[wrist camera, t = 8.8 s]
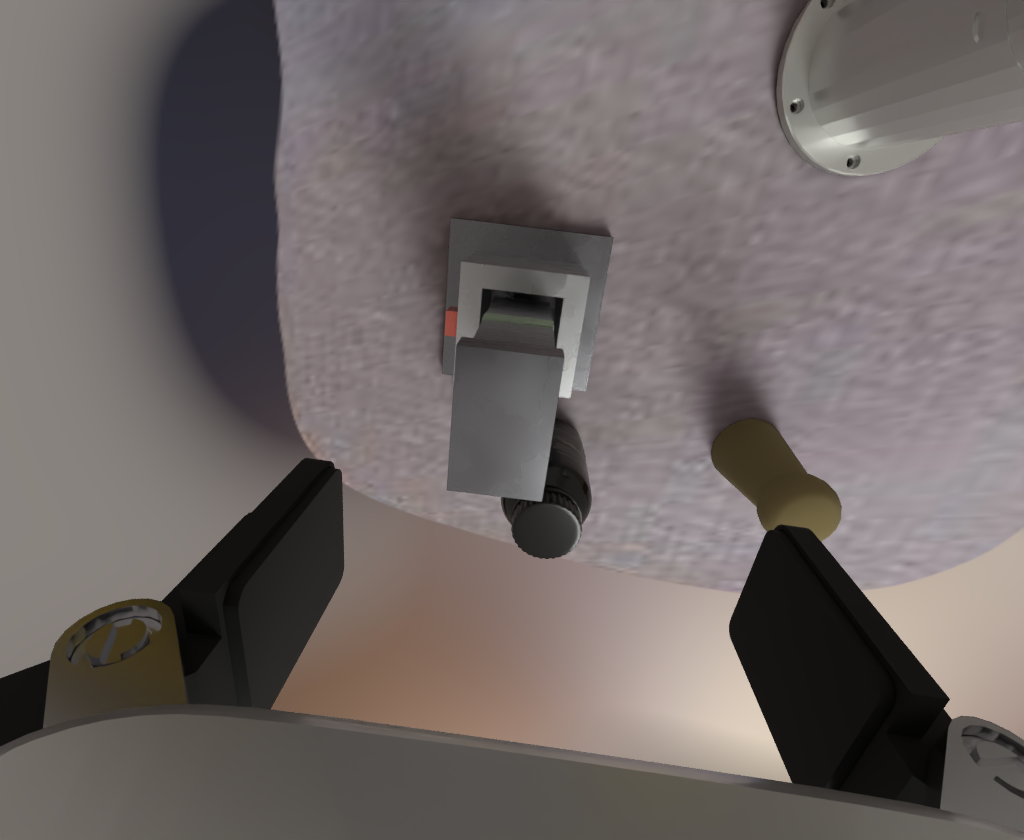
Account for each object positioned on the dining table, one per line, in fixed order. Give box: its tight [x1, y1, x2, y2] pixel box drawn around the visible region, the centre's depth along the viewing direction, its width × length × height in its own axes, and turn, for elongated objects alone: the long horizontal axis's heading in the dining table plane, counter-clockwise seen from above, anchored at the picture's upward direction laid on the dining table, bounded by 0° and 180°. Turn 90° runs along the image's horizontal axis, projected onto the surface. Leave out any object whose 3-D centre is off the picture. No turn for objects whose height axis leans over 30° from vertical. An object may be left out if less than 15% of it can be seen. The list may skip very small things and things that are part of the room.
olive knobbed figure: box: [711, 419, 842, 541], centre depth 38 cm, size 6×6×11 cm
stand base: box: [442, 218, 613, 398], centre depth 35 cm, size 12×12×9 cm
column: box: [447, 296, 565, 502], centre depth 25 cm, size 6×4×17 cm, turn 174°
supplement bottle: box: [501, 419, 592, 559], centre depth 38 cm, size 7×7×12 cm
